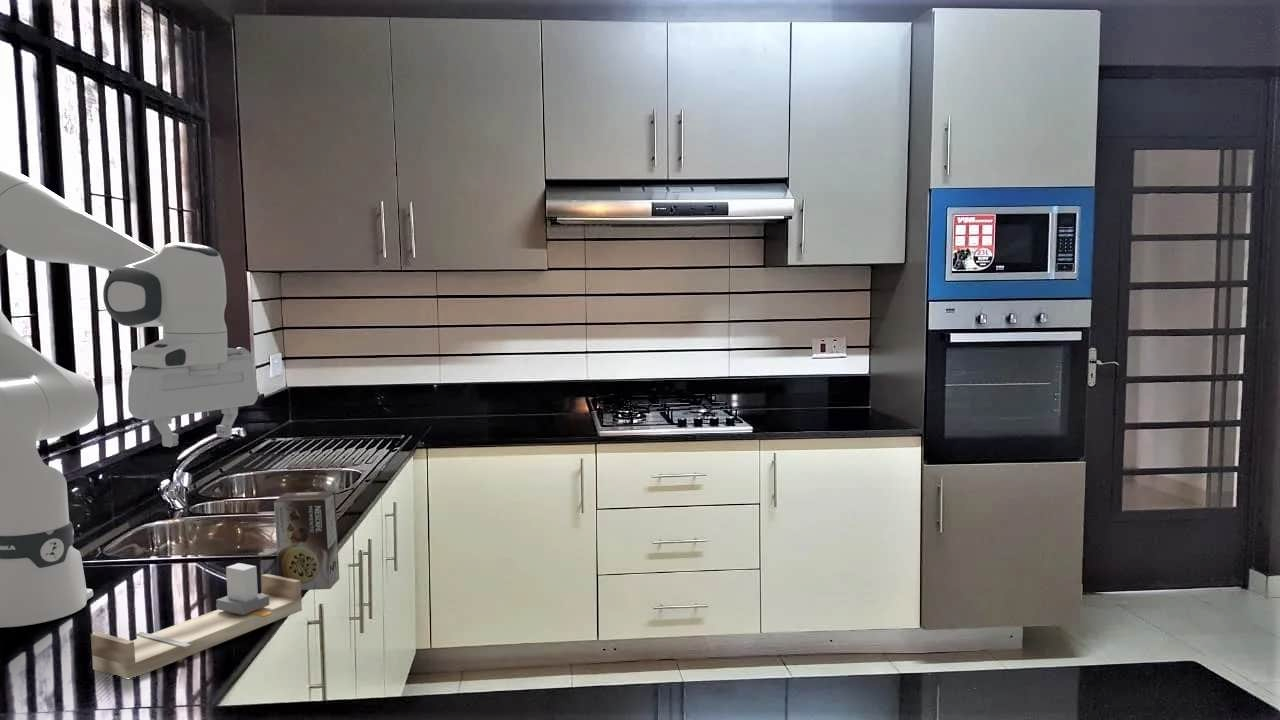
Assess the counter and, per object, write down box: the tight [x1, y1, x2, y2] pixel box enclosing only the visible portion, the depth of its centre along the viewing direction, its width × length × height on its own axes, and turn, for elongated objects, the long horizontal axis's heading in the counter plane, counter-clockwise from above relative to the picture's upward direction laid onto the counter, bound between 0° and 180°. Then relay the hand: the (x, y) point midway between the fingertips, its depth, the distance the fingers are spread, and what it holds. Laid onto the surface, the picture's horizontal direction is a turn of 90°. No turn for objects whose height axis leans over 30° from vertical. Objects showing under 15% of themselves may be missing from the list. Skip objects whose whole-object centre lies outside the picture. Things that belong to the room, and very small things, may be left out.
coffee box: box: [273, 490, 340, 591], centre depth 169 cm, size 9×6×16 cm
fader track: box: [90, 573, 303, 679], centre depth 145 cm, size 11×30×5 cm, turn 152°
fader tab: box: [215, 562, 270, 615], centre depth 151 cm, size 6×5×6 cm
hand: (198, 441), depth 146 cm, fingers open, 8 cm apart
